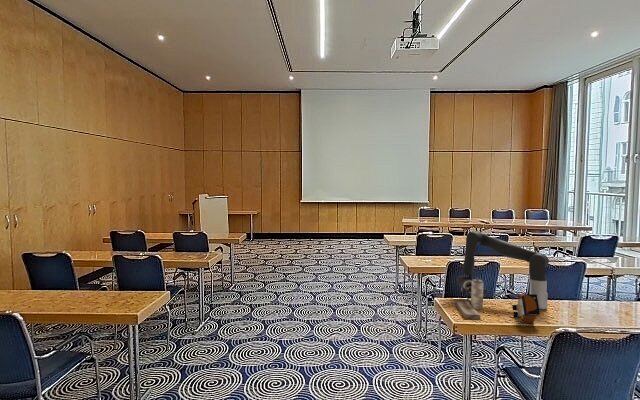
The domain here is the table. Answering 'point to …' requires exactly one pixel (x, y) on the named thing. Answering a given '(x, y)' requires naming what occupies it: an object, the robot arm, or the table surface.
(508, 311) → the table surface
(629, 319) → the table surface
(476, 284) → the pale block with peg
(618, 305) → the table surface
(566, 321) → the table surface
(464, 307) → the walnut board
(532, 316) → the toy
